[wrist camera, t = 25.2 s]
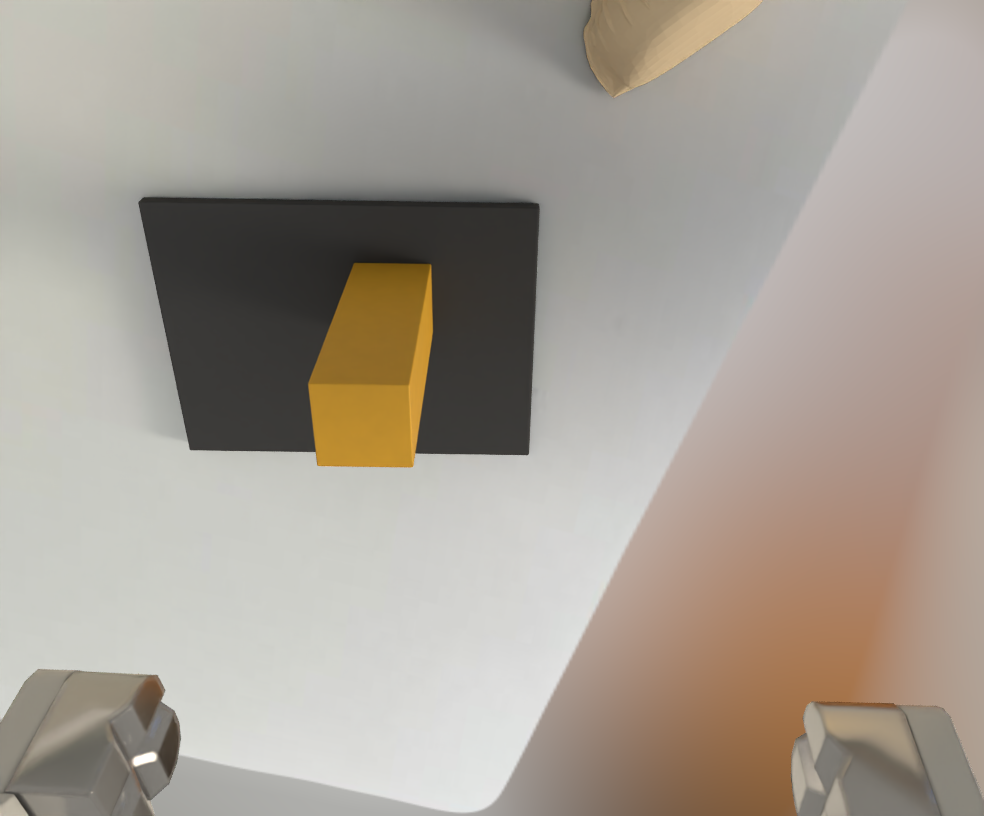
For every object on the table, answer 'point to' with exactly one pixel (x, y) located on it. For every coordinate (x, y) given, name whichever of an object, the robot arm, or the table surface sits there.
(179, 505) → the table surface
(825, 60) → the table surface
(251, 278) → the mat
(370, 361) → the peg
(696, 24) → the decorative ornament
